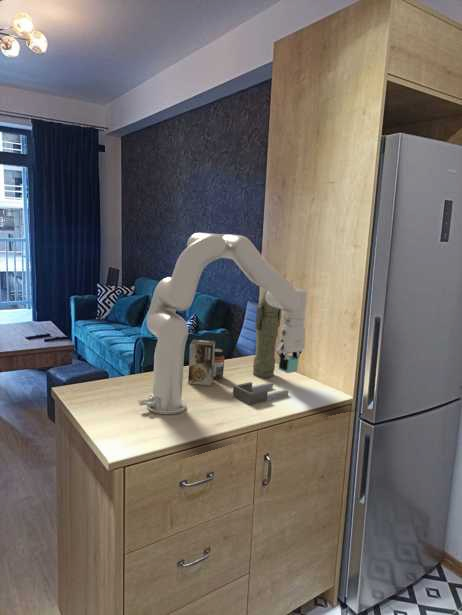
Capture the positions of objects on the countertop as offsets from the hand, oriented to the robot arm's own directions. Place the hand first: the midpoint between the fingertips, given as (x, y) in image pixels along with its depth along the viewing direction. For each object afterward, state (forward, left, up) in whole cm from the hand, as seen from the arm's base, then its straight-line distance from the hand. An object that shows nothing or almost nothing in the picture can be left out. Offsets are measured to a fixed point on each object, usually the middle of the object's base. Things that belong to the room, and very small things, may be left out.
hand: (288, 367), depth 173 cm
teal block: (0, 0, -1) cm, 1 cm away
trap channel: (-14, 0, -9) cm, 16 cm away
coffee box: (-25, +22, -9) cm, 34 cm away
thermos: (+4, +17, -9) cm, 20 cm away
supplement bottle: (-16, +24, -9) cm, 30 cm away
